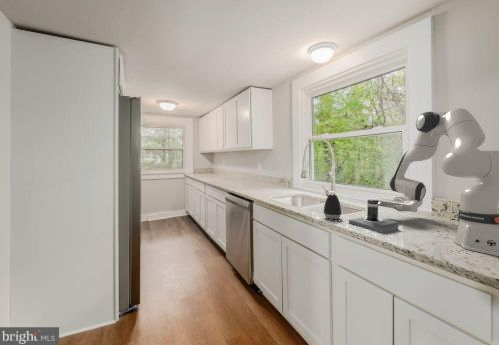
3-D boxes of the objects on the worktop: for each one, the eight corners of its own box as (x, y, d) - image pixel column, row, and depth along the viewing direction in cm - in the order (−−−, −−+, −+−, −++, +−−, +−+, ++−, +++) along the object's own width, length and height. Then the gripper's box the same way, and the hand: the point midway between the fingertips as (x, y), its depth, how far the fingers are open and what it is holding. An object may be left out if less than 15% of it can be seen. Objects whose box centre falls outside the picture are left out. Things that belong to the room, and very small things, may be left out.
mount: (398, 229, 118) (398, 221, 118) (383, 233, 113) (383, 225, 112) (363, 220, 136) (363, 213, 136) (348, 223, 130) (348, 216, 130)
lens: (380, 223, 123) (380, 200, 122) (373, 224, 121) (374, 201, 120) (371, 220, 128) (371, 199, 127) (364, 222, 125) (365, 199, 125)
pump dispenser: (333, 215, 148) (333, 192, 147) (345, 219, 138) (345, 194, 137) (319, 217, 144) (319, 193, 143) (331, 221, 134) (331, 195, 133)
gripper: (384, 195, 145) (369, 197, 138) (420, 200, 126) (406, 203, 120) (383, 205, 145) (369, 208, 139) (420, 212, 127) (405, 215, 120)
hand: (386, 205), depth 129 cm, fingers open, 8 cm apart
